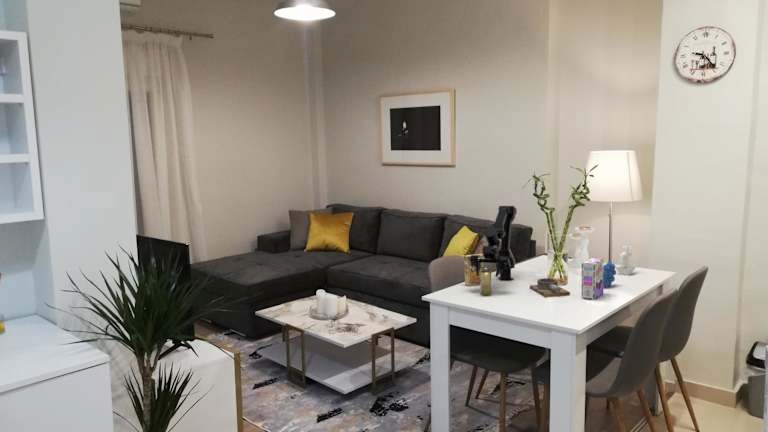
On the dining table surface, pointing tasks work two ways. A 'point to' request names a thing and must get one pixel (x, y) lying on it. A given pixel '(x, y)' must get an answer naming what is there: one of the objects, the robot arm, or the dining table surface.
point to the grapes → (608, 274)
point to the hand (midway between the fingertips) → (486, 275)
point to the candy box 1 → (472, 271)
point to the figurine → (625, 261)
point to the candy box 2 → (592, 278)
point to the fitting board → (550, 294)
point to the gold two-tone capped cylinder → (485, 281)
